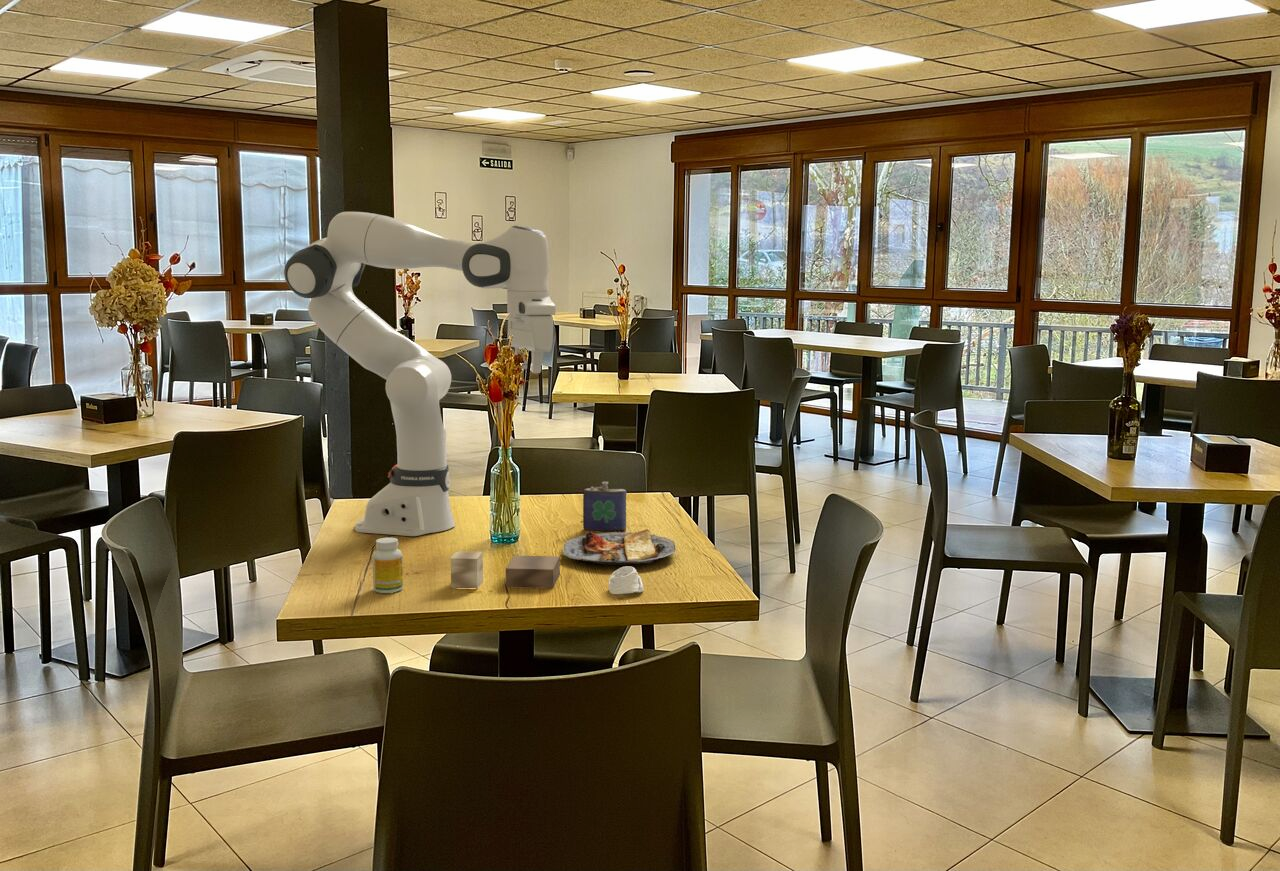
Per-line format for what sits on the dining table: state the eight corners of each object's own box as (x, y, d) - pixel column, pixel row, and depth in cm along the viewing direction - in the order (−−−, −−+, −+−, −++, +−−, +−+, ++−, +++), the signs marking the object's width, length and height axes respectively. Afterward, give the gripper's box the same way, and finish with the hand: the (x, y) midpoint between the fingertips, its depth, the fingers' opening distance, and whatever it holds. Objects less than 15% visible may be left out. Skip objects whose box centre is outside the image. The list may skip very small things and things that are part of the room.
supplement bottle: (369, 588, 199) (368, 538, 198) (397, 584, 202) (395, 534, 201) (379, 595, 195) (377, 545, 193) (407, 591, 198) (405, 541, 196)
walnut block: (506, 588, 201) (505, 568, 200) (514, 575, 210) (514, 555, 209) (553, 590, 200) (553, 569, 200) (559, 576, 209) (559, 556, 208)
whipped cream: (647, 601, 196) (650, 576, 195) (611, 600, 195) (614, 575, 194) (638, 585, 204) (641, 561, 203) (604, 584, 202) (606, 560, 201)
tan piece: (451, 589, 199) (450, 558, 198) (457, 581, 204) (456, 551, 203) (477, 589, 199) (476, 558, 198) (483, 582, 204) (482, 551, 203)
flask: (626, 529, 245) (626, 480, 243) (625, 532, 242) (625, 483, 240) (583, 528, 245) (583, 479, 244) (582, 532, 242) (582, 482, 240)
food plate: (567, 540, 236) (567, 524, 235) (672, 540, 236) (672, 525, 236) (560, 572, 211) (560, 555, 211) (677, 573, 212) (677, 556, 211)
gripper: (499, 303, 231) (500, 367, 233) (528, 306, 212) (529, 375, 214) (527, 303, 233) (528, 366, 235) (558, 306, 215) (558, 374, 217)
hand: (529, 370), depth 225 cm, fingers open, 8 cm apart
